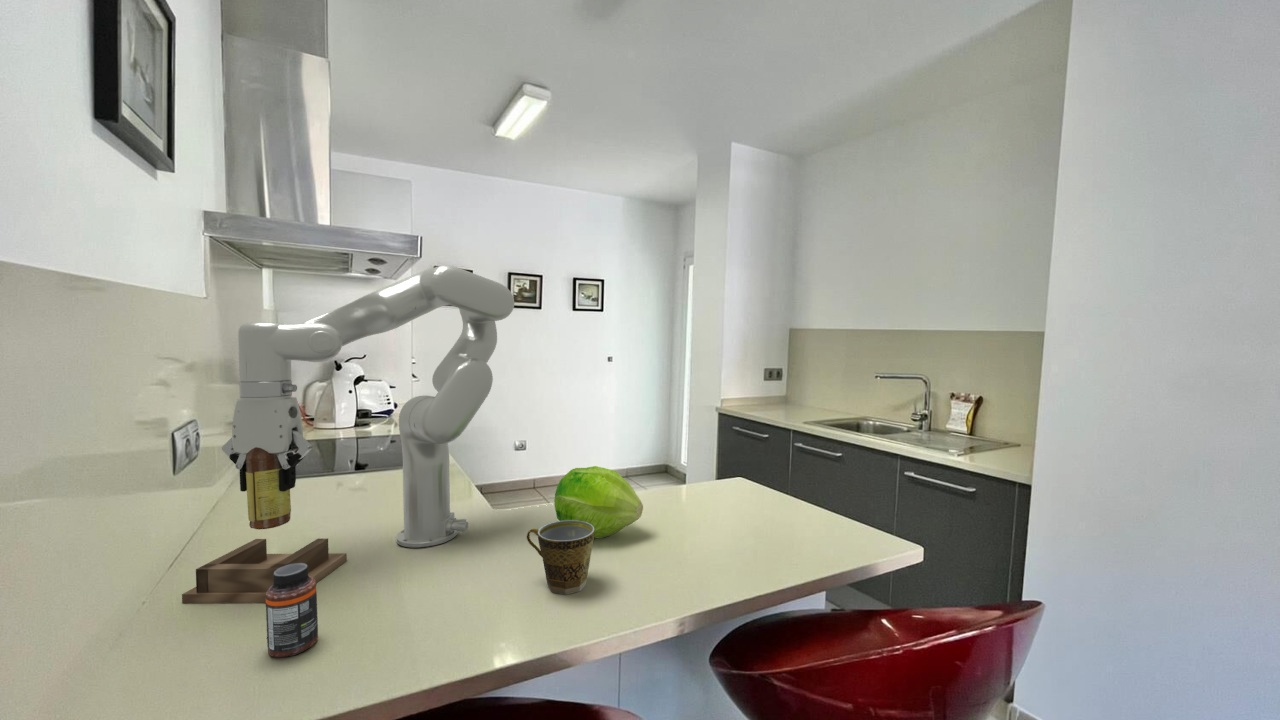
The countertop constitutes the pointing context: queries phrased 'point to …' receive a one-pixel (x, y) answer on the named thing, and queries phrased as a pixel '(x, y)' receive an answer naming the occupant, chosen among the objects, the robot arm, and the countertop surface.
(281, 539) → the countertop surface
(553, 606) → the countertop surface
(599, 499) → the lettuce
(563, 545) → the ceramic cup
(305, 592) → the supplement bottle
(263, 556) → the bottle stand
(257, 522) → the sauce bottle
